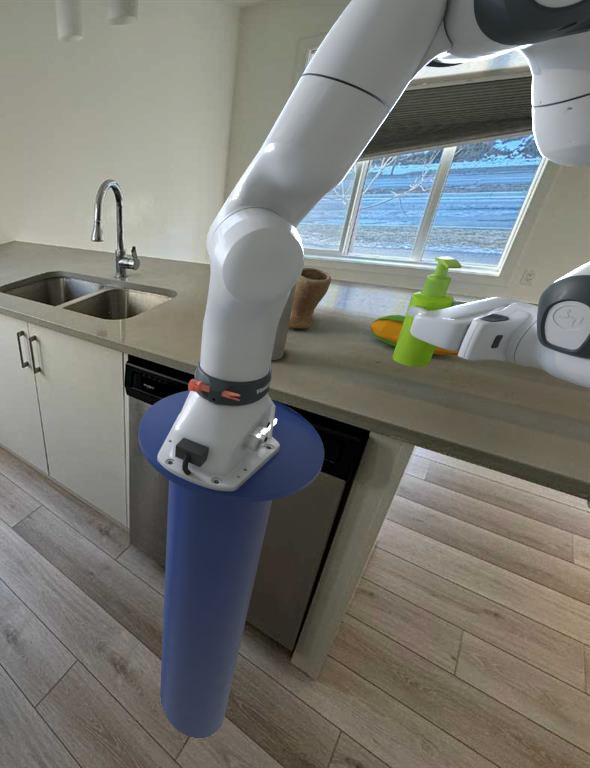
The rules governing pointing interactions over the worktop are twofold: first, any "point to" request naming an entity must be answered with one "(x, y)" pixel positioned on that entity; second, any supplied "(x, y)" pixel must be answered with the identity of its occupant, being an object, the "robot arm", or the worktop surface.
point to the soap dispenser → (433, 299)
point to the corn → (397, 332)
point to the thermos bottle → (283, 327)
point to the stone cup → (308, 296)
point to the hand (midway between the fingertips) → (426, 306)
